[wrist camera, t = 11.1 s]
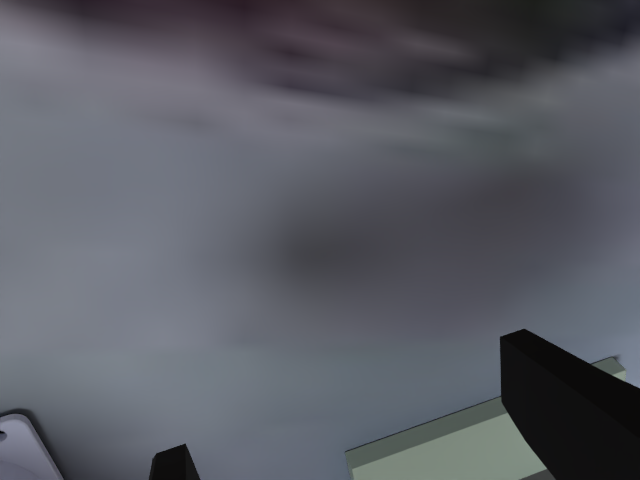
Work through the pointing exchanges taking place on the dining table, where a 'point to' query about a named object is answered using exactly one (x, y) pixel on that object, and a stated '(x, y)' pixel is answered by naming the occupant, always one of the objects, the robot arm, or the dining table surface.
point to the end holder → (458, 447)
